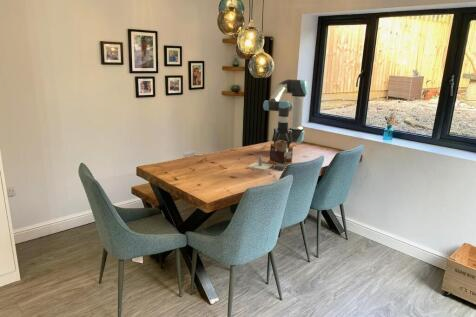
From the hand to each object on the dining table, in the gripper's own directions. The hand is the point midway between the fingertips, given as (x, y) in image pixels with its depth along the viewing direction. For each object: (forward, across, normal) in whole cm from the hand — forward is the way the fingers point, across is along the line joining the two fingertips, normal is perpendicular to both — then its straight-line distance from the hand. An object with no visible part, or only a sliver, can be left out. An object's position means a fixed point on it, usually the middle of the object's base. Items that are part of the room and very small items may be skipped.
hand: (281, 151), depth 276 cm
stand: (+14, 0, 0) cm, 14 cm away
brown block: (-1, 0, 0) cm, 1 cm away
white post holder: (+14, -15, -5) cm, 21 cm away
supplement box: (+14, -6, +14) cm, 21 cm away
